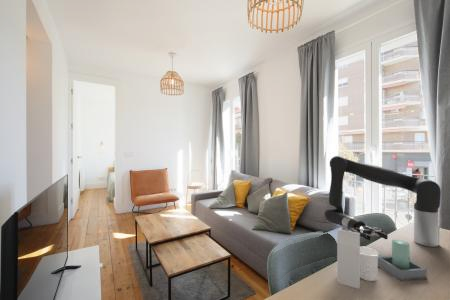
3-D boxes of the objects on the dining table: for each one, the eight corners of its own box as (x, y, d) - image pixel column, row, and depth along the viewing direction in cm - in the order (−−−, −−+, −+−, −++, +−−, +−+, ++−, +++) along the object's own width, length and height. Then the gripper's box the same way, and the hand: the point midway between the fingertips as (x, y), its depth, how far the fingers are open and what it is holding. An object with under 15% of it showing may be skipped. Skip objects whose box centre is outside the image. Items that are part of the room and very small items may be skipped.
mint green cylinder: (400, 265, 91) (400, 239, 91) (413, 272, 86) (413, 245, 86) (388, 266, 91) (388, 239, 90) (400, 273, 85) (400, 246, 85)
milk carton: (359, 289, 77) (359, 236, 77) (337, 283, 81) (337, 232, 81) (359, 279, 83) (359, 229, 83) (338, 273, 87) (338, 226, 87)
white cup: (382, 283, 81) (382, 256, 80) (359, 281, 82) (359, 254, 82) (372, 271, 88) (372, 247, 88) (351, 269, 90) (351, 245, 90)
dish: (400, 263, 94) (400, 255, 94) (426, 278, 83) (426, 269, 83) (377, 265, 93) (377, 256, 93) (400, 280, 82) (401, 271, 82)
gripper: (340, 218, 114) (364, 230, 98) (365, 217, 116) (392, 228, 100) (340, 232, 114) (364, 247, 98) (365, 231, 116) (392, 244, 100)
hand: (378, 237), depth 99 cm, fingers open, 8 cm apart
